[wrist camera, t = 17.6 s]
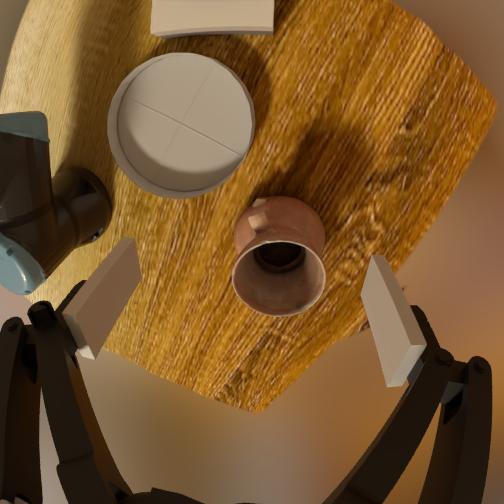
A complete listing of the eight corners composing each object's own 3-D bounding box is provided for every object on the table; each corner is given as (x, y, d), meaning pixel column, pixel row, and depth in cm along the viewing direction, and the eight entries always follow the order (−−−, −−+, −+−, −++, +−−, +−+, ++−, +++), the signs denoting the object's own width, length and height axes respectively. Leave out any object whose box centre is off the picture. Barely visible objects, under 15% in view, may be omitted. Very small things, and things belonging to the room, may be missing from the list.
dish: (157, 34, 35) (144, 30, 30) (284, 95, 39) (285, 96, 35) (103, 153, 45) (88, 161, 41) (212, 212, 50) (206, 225, 45)
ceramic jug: (218, 200, 48) (197, 245, 36) (304, 169, 44) (314, 206, 32) (260, 284, 56) (254, 342, 44) (335, 262, 53) (349, 318, 41)
